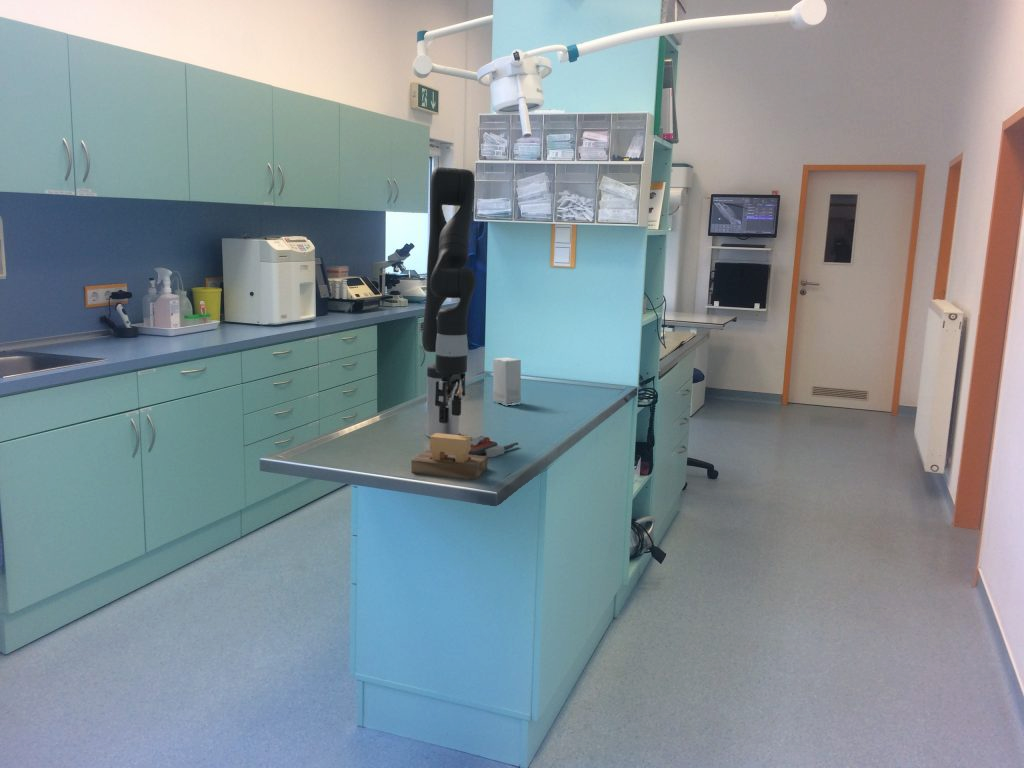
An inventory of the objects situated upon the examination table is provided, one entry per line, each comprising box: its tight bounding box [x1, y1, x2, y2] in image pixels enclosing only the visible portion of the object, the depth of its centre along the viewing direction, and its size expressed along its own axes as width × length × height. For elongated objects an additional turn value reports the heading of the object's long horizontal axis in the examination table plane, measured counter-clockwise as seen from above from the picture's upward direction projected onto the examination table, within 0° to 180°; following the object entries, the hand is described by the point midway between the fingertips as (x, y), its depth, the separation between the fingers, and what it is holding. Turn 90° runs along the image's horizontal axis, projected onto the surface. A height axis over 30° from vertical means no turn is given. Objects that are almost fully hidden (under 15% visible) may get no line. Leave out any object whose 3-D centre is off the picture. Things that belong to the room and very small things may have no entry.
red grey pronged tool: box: [468, 435, 519, 458], centre depth 214 cm, size 9×4×20 cm
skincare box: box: [492, 356, 522, 404], centre depth 277 cm, size 8×7×16 cm
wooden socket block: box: [411, 449, 489, 480], centre depth 197 cm, size 10×16×3 cm, turn 74°
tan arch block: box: [429, 433, 472, 463], centre depth 196 cm, size 4×9×8 cm, turn 74°
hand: (450, 418), depth 195 cm, fingers open, 8 cm apart
